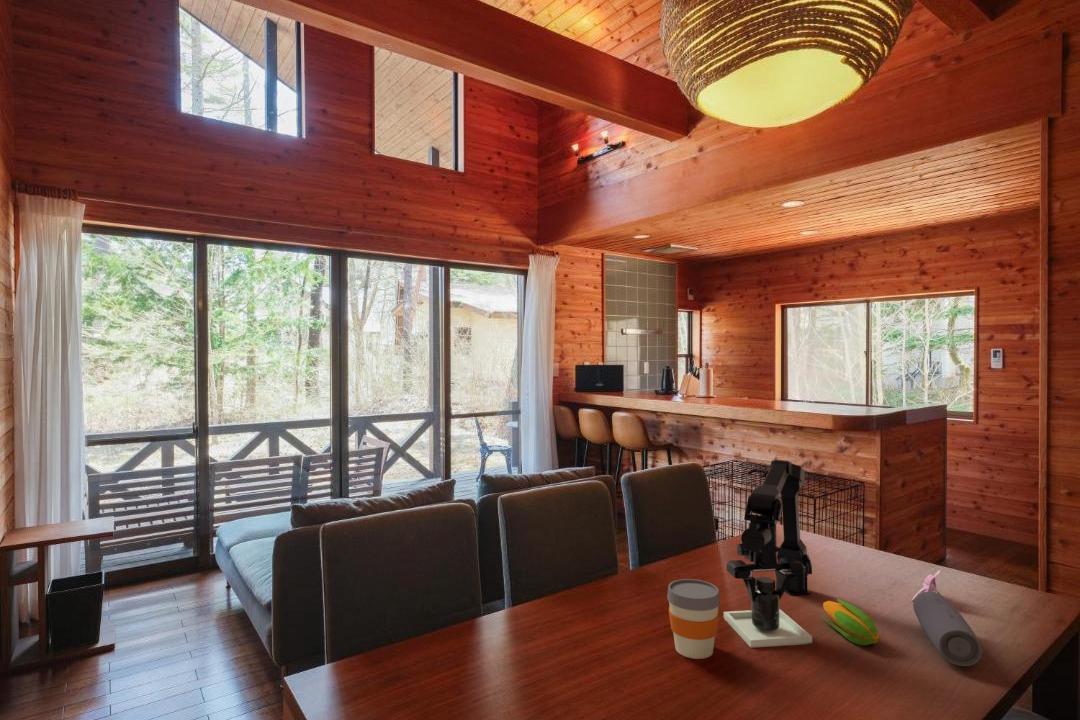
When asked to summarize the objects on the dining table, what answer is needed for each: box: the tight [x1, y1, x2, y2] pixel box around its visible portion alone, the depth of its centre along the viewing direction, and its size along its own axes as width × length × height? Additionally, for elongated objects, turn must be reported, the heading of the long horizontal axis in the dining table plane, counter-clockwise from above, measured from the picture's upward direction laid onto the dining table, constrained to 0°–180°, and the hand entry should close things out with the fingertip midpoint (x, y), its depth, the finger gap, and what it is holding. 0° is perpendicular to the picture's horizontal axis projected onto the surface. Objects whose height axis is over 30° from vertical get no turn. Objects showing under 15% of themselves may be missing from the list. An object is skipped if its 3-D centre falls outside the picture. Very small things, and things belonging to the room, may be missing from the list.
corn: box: [821, 599, 880, 646], centre depth 149 cm, size 7×8×20 cm
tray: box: [723, 608, 813, 649], centre depth 151 cm, size 16×16×2 cm
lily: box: [911, 568, 943, 601], centre depth 167 cm, size 12×12×10 cm
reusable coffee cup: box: [666, 578, 721, 660], centre depth 141 cm, size 13×13×15 cm
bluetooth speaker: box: [912, 591, 983, 667], centre depth 140 cm, size 23×9×10 cm, turn 160°
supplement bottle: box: [751, 576, 780, 631], centre depth 151 cm, size 7×7×12 cm
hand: (765, 600), depth 151 cm, fingers closed on supplement bottle, 7 cm apart
